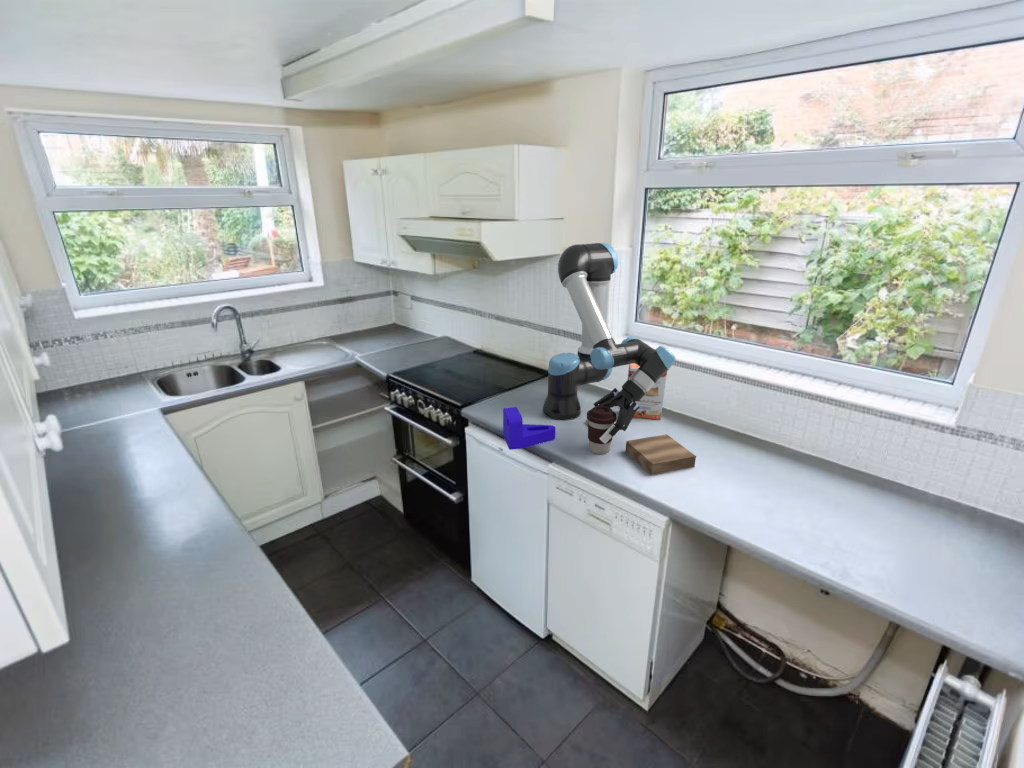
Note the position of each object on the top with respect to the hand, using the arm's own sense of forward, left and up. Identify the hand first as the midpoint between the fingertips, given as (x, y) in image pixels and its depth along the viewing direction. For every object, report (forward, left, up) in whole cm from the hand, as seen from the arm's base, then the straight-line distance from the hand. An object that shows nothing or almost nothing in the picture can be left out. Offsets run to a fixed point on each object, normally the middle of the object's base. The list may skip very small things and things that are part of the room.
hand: (593, 433), depth 170 cm
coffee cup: (0, +3, -7) cm, 7 cm away
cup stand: (+12, +19, -7) cm, 23 cm away
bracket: (-14, -17, -7) cm, 23 cm away
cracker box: (-19, +32, -7) cm, 37 cm away
